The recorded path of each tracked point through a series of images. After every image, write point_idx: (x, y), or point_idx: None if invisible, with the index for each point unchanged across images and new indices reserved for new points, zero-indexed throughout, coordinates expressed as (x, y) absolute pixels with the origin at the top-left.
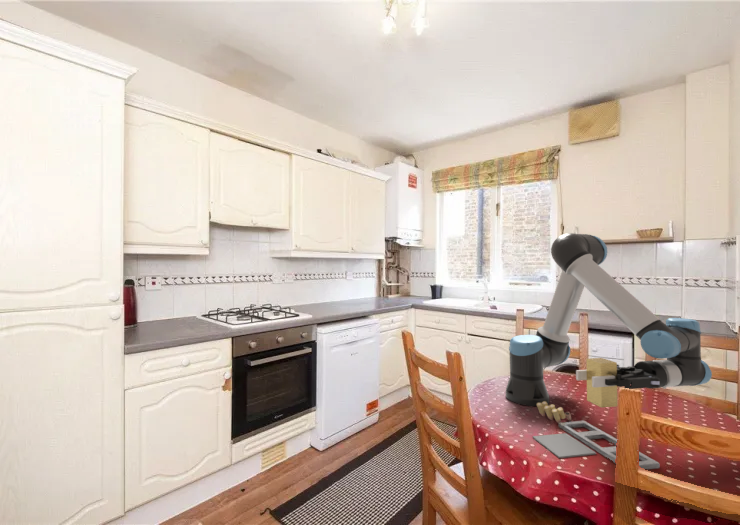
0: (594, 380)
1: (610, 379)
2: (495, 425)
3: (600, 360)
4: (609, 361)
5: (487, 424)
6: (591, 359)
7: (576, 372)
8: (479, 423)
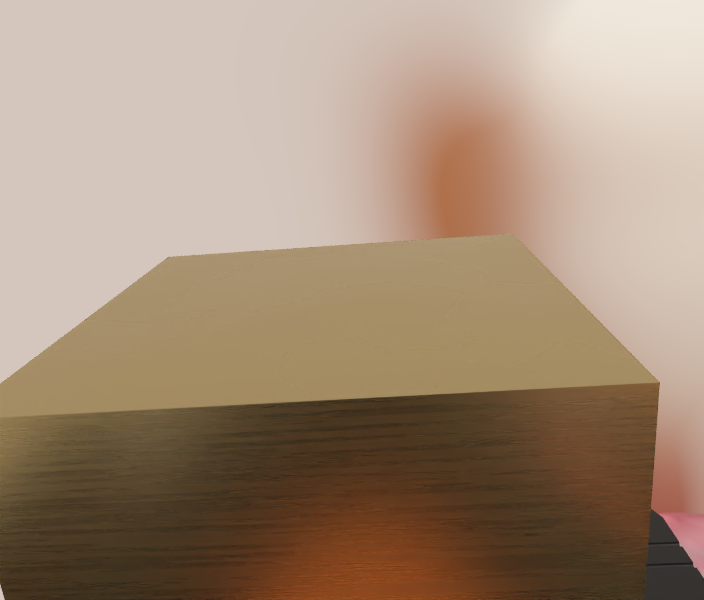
0: None
1: None
2: (694, 566)
3: (336, 294)
4: (167, 355)
5: (696, 539)
6: (448, 251)
7: None
8: (698, 515)
